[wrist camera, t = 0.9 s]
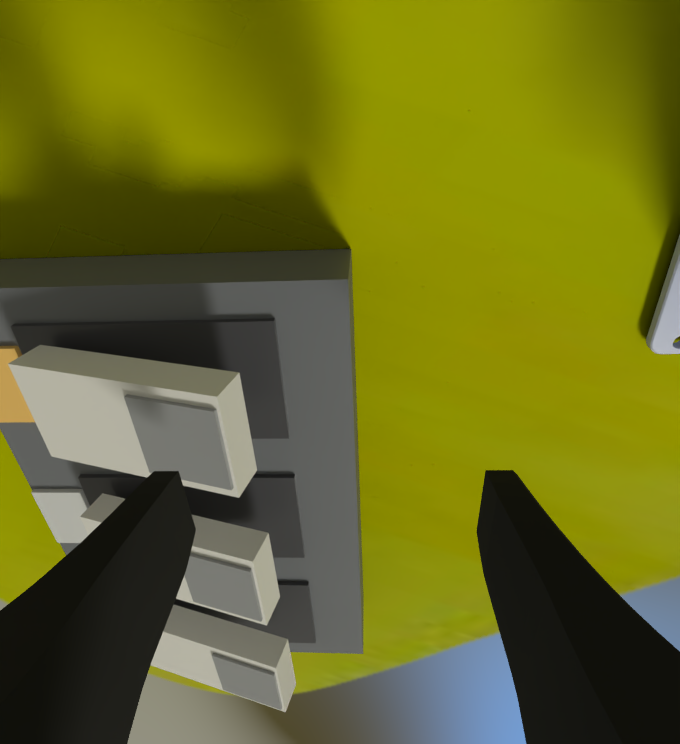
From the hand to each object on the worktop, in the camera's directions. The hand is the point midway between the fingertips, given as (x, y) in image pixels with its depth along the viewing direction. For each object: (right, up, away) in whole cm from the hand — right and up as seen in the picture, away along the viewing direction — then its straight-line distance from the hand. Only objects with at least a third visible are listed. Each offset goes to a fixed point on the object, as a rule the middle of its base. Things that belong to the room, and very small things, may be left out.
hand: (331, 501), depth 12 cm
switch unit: (-5, -1, +11) cm, 12 cm away
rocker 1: (-6, +2, +3) cm, 7 cm away
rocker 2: (-5, -9, +10) cm, 15 cm away
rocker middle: (-6, -4, +7) cm, 10 cm away
